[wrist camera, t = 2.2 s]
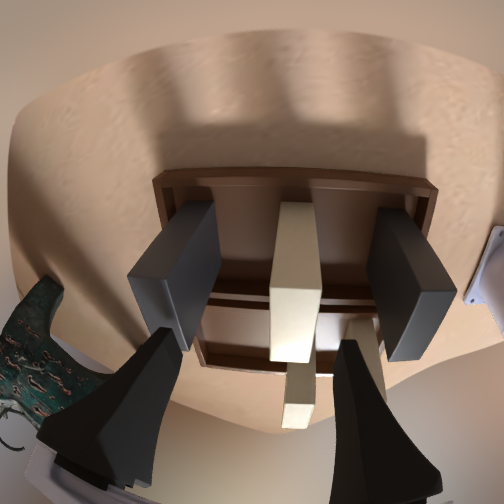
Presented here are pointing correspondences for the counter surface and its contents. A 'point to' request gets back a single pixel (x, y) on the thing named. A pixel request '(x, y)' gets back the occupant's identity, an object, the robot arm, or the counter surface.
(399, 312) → the charcoal book
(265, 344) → the shallow brown tray
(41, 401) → the green mottled arch
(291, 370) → the cream book
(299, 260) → the cream book
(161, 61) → the counter surface
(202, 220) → the charcoal book
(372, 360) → the cream book
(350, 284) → the dark wooden tray
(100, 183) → the counter surface
